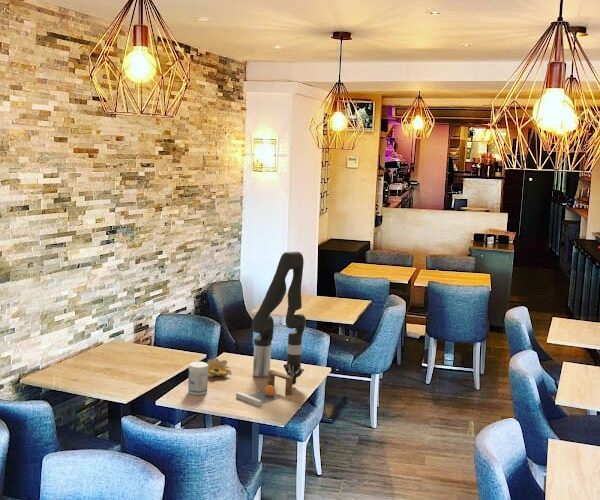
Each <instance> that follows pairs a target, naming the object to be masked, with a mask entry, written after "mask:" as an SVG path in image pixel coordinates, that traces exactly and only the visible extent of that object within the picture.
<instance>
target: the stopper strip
mask: <svg viewBox="0 0 600 500" xmlns="http://www.w3.org/2000/svg"><path fill="white" fill-rule="evenodd" d="M235 398H236V399H238V400H240V401H244V402H246V403H248V404H252V405H253V406H256V407H261V406H262V407H263V404H262V400H259V399H256V398H254V397H251V396H249V394H245V393H243V392H241V391H238V392H236V393H235Z"/></svg>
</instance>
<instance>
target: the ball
mask: <svg viewBox="0 0 600 500" xmlns="http://www.w3.org/2000/svg"><path fill="white" fill-rule="evenodd" d="M263 391H264V392H265V394H266V395H267V396H272V395H275V393H276V388H275V386H274V387H273V386H272V385H268V384H267V385H266V386H265V387H264V389H263Z"/></svg>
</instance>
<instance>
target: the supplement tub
mask: <svg viewBox="0 0 600 500" xmlns="http://www.w3.org/2000/svg"><path fill="white" fill-rule="evenodd" d="M208 374H209V373H208V363H207V362H204V361H193V362H190V363H189V366H188V381H187V382H188V383H187V384H188V386H187V387H188V388H187V392H188V393H189V394H190V395H193V396H202V395H205V394H207V393H208V383H209V381H208V380H209V377H208Z"/></svg>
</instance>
